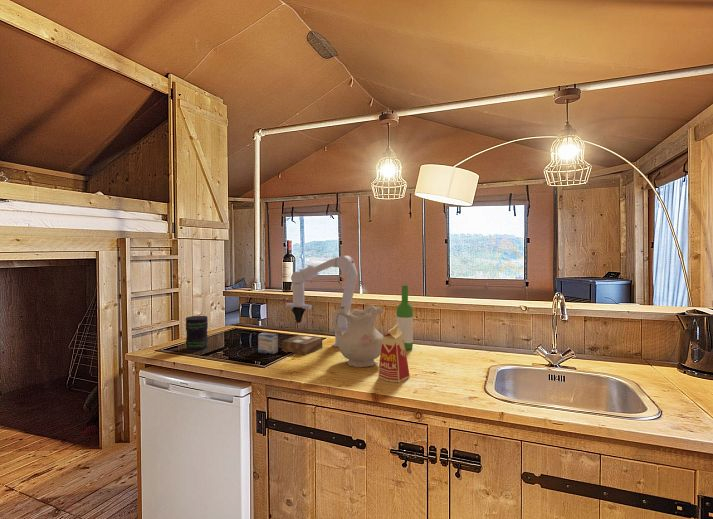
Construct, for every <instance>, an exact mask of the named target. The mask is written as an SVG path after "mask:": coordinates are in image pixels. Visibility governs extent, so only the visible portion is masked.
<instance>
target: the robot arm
mask: <svg viewBox="0 0 713 519" xmlns="http://www.w3.org/2000/svg"><path fill="white" fill-rule="evenodd" d="M329 268H338V269H339V270H341V271H342V272H343V273H344V274H345V276H346V278H345V279H346V280H345V284H344V288H343V292H342V293H343V294H342V297H341V302H340V306H345V307H344V309H345V311H346V313H348V314H351V312H352V311H351V306H352V302H353V298H354V294H355V290H356V284H357V280H358V275H359V273H358V270H357V267H356V264H355V260H354V258H352V257H351V256H350V255H346V254H345V255H339V256H338V257H334V258H331V259H329V260H326V261H325V262H322V263H320V264H319V265H313V264H312V265H311V264H309V265H307V267H304V268H303V269H302V268H300V269H299V271H294V272H293V273H292V274H291V275H290V279H291V282H292V302H286V303H285V308H291V311H292V314H293V315H294V318H295V321H296V323H297V324H300V323H302V319H303V315H304V314H305V311H306V310H312V307H313V306H312V304H307V303H305V281H308V280H309V279H313V278H315V277H317V276H318V274H319V273H320V272H322V271H325V270H327V269H329ZM338 326H339V328H340V331H341V334H342V333H343V332H344V331H345V330H346V329H347V326H348V323H347V319H346V317H344V316H343V315H339V316H338ZM334 333H335V334H334V335H335V337H334V339H335V343H332V344H331V347H336V348H337V347H338V348H339V344H338V335H337V333H336V331H335V330H334Z"/></svg>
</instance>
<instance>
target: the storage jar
mask: <svg viewBox="0 0 713 519" xmlns="http://www.w3.org/2000/svg"><path fill="white" fill-rule="evenodd" d="M208 325H209V324H208V316H207V315H193V316H191V315H190V316H187V317H186V318H185V330H186V338H185V347H186V348H185V351H186V352H200V351H205V350H208V348H209V347H208V346H209V339H208V338H209V337H208V328H209V326H208Z"/></svg>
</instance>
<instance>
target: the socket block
mask: <svg viewBox="0 0 713 519" xmlns="http://www.w3.org/2000/svg"><path fill="white" fill-rule="evenodd" d="M306 336H307V337H313V338H310V339H302V338H303V337H306ZM294 340H304V341H302V342H299V343H298V342H292V341H294ZM281 343H282V344H281V352H282V351H284V352H283V353H288V352H293V353H292V354H295V355H302V356H307V355H309V354H311V353H314V352H317V351H319V350H321V349H323V337H320V336H311V335H306V334H305V335H304V334H299V335H298V334H297V335H296V336H292V337H289V338H287V339H284V340H282V342H281Z"/></svg>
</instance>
